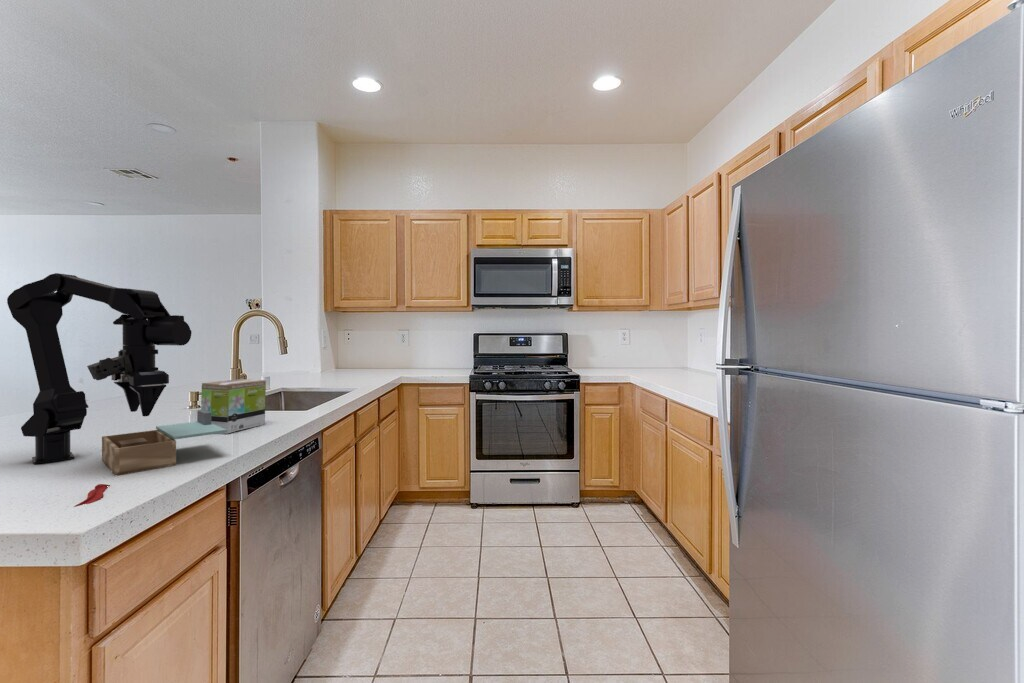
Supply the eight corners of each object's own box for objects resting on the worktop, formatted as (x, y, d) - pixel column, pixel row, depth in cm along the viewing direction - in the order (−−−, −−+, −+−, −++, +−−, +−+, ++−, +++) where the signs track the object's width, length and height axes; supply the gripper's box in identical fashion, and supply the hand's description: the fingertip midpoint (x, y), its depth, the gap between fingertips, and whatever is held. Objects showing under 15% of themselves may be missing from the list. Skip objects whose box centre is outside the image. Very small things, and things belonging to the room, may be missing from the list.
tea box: (228, 434, 132) (228, 383, 132) (199, 432, 134) (199, 382, 134) (266, 424, 147) (266, 378, 146) (239, 423, 149) (239, 377, 148)
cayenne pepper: (84, 509, 77) (84, 498, 77) (53, 511, 76) (53, 500, 76) (132, 486, 89) (131, 476, 89) (105, 487, 88) (105, 477, 88)
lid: (156, 428, 112) (156, 414, 112) (205, 422, 120) (205, 409, 120) (173, 439, 101) (173, 423, 101) (226, 432, 109) (226, 417, 109)
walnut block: (143, 457, 105) (143, 437, 105) (147, 460, 103) (147, 441, 102) (117, 461, 102) (117, 441, 102) (121, 465, 99) (121, 444, 99)
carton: (101, 460, 104) (101, 436, 104) (158, 451, 112) (158, 429, 112) (115, 475, 94) (114, 449, 94) (176, 465, 102) (176, 440, 102)
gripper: (81, 344, 102) (82, 413, 102) (102, 346, 91) (102, 424, 91) (143, 344, 111) (144, 407, 111) (169, 345, 100) (169, 416, 100)
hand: (139, 413), depth 103 cm, fingers open, 9 cm apart
